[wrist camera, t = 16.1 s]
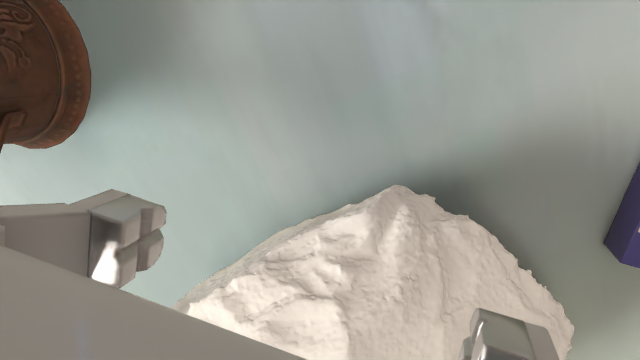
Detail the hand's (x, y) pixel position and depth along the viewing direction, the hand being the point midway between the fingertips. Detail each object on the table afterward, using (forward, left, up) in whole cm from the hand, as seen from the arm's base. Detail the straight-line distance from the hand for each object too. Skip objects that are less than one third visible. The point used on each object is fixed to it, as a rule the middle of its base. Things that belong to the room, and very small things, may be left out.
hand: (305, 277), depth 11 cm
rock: (+20, -1, -31) cm, 37 cm away
